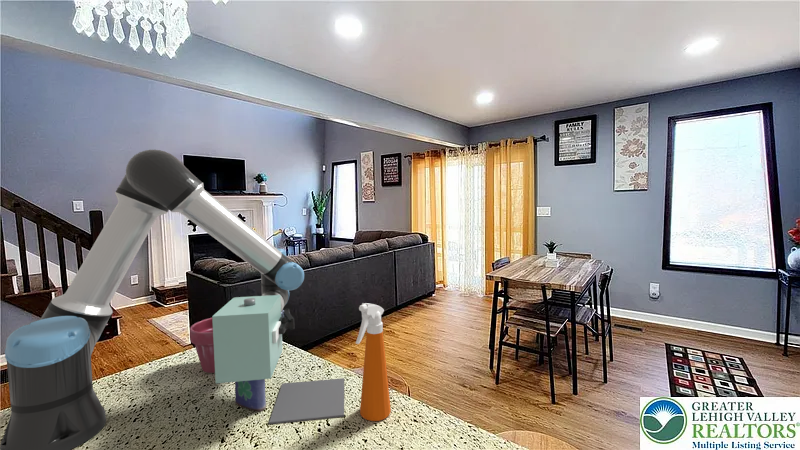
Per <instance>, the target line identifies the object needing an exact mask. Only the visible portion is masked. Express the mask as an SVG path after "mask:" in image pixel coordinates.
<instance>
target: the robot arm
mask: <svg viewBox="0 0 800 450" xmlns="http://www.w3.org/2000/svg"><path fill="white" fill-rule="evenodd" d="M204 187H205V186H204V182H202V181H201V180H200V179H199V178H198V177H196V175H195V174H193V173H192V172H191V171H190V170H189V168H187V167H186V166H185V165H184V164H183V162H181V161H180V159H178V158H177V157H176V156H174V155H173V154H171V153H170V152H168V151H165V150H160V149H146V150H142V151H139V152H138V153H136V154H134V155H133V156H132V157H131V158H130V159H129V161H128V162H127V165H126V168H125V174H124V177H123V178H122V180H121V182H120V184H119V185H118V187H117V188H116V191H115V192H114V194H115V196H116V199H117V204H116V206H115V208H114V209H113V210H112V212H111V214H110V216H109V217H108V219H107V221H106V223H105V225H104V226H103V227H102V229H101V231H100V233H99V235H98V236H97V238H96V240H95V242H94V243H93V244H92V247H91V249H90V250H89V252H88V253H87V255H86V256H85V259H84V261H83V262H82V264H81V265H80V267H79V269H78V271H77V272H76V275H75V276H74V278H73V280H72V281H71V283H70V285H69V286H68V288H67V290H66V291H65V292H64V294H62V295H58V296H56V297H53V298H52V299H51V300H50V302H49V304H48V305H47V308H46V309H45V310H44V313H43V314H42V315H41V317H40V319H38V320H36V321H35V320H34V321H32V322H30V323H29V324H25V325H22V326H20V327H18V328H17V329H15V330H14V331H13V332H11V334H9V335H8V337H7V338H6V342H5V343H6V344H5V349H4V356H5V360H6V367H7V376H8V377H7V378H8V388H9V389H8V390H9V400H10V402H9V403H10V411H11V413H10V416H9V418H8V422H7V425H6V428H5V430H4V433H3V437H2V439H1V442H0V450H73V449H74V448H76V447H78V446H80V445H83V444H84V443H86V442H87V441H89V440H91V439H92V438H93V437H94V436H96V435H97V434H98V433H100V431H101V430H102V429H103V428H104V426H105V425H106V422H107V417H106V416H107V415H106V409H105V407H104V405H102V403H101V400H100V399H99V397H98V396H97V393H96V392H95V389H94V388H93V387H94V386H93V385H94V384H93V369H92V354H93V352H94V349H95V347H96V344H97V343H98V342H99V339H100V337H101V335H102V333H103V331H104V329H105V327H106V325H107V324H108V321H109V319H110V318H111V317H112V314H113V309H112V307H111V304H110V303H111V301H112V299H113V298H114V296H115V295H116V292H117V291H118V289H119V287H120V285H121V283H122V282H123V280H124V278H125V276H126V274H127V272H128V271H129V268H130V267H131V265H132V263H133V262H134V259H135V258H136V256H137V255H138V252H139V251H140V249H141V247H142V246H143V243H144V242H145V240H146V238H147V236H148V235H149V233H150V231H151V229H152V228H153V225H154V224H155V221H156V220H157V218H158V217H159V216H162V215H165V214H168V212H169V211H170V212H171V213H180V214H181V215H182V216H184V217H186V219H188V220H189V221H191V222H192V223H193V224H195V225H196V226H197V227H199V228H200V229H201V230H203V231H204V232H205V233H207V234H208V235H209V236H211V237H212V238H214V239H215V240H217V242H219V243H220V244H222V245H223V246H224V247H226V248H227V249H228V250H230V251H231V252H232V253H233V254H235V255H236V256H237V257H239V258H241V259H242V260H243V261H244V262H245V263H247V264H248V265H250V266H251V267H253V269H255V270H256V271H258V272H259V273H260V281H261V282H260V283H261V285H260V286H261V296H271V295H281V317H280V319H279V321H278V322H277V324H276V326H275V327H274V329H273V331H272V337H273V343H276V342H277V340H278V338H279V336H280V334H282V335H284V334H285V332H286V331H287V330H288V329H289V330H295V318H294V316H293V315H292V313H291V312H290V308H285V309H284V307H285V306H286V305H287V304H288V301H289V299H290V291H294V290H297V289H298V288H300V287H301V286H302V284H303V282H304V280H305V271H304V269H303V268H302V267H301V266H300V265H299V264H298V263H297V262H293V260H291V259H290V258H289V257H287V253H286V252H287V251H286V249H284V248H276V247H275V246H274V245H273V244H272V243H270V242H269V241H268V240H267V239H266V238H264V237H263V236H262V235H261V234H259V233H258V232H257V231H256V230H255V229H253V228H252V227H251V226H249V225H248V224H247V223H246V222H245V221H243V220H242V219H241V218H240V217H239V216H237V215H236V214H235V213H234V212H232V211H231V210H230V209H229V208H228V207H226V206H225V205H224V204H223V203H222V202H221V201H219V200H218V199H216V197H214V196H213V195H212V194H211V193H209V192H208V191H207V190H205V188H204Z"/></svg>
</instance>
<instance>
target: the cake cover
mask: <svg viewBox="0 0 800 450" xmlns="http://www.w3.org/2000/svg"><path fill="white" fill-rule="evenodd" d="M281 312H282V311H281V295H271V296H262V295H253V296H240V297H239V296H236V297H233V298H231V300H229V301H228V302H227V303H226V304H224V306H222V307H221V308H220V309H219V310H218V311H217V312H215V313H214V314H213V315H212V317H211V318H212V321H213V341H214V361H215V373H214V375H215V377H214V378H215V384H226V383H235V382H238V381H250V380H261V379H265V380H270V379H272V377H273V374H274V371H275V369H276V367H277V365H278V362H279V360H280V358H281V354H282V352H283V334H280V336H279V338H278V340H277V342H276V343H273V337H272V331H273V329H274V327H275V326H276V324H277V322H278V321H279V319H280V317H281Z"/></svg>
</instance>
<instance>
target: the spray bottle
mask: <svg viewBox="0 0 800 450" xmlns="http://www.w3.org/2000/svg"><path fill="white" fill-rule="evenodd" d="M358 310H359V311H360V312H361V324H360V328H359V331H358V335H357V338H356V341H355V344H356V345H359V344H360V343H361V342H362V339H363V338H364V336H365V348H364V349H365V350H364V361H363V372H362V373H363V374H362V382H361V383H362V384H361V397H360V407H359V414H360V416H361V417H362V418H363V419H365V420H366V421H369V422H370V421H371V422H380V421H383V420H385V419H386V418H388V417H389V416H390V414H391V412H392V409H391V399H390V398H391V397H390V388H389V380H388V378H389V377H388V371H387V370H388V369H387V368H388V367H387V359H386V349H385V342H384V341H385V340H384V330H383V327H384V326H383V325H384V323H383V321H382V315H383V314H384V312H385V309H384V308H383V307H382V306H380V305H377V304H376V303H375V304H374V303H367V302H365V303H364V302H362V303H361V305H359V307H358ZM365 333H366V335H365Z"/></svg>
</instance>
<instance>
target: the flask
mask: <svg viewBox="0 0 800 450" xmlns="http://www.w3.org/2000/svg"><path fill="white" fill-rule="evenodd" d="M234 395H235V396H234V397H235V398H234V401H235V402H234V403H235V404H236V406H238V407H240V408H243V409H245V410H249V411H251V412H258V413H259V412H263V411H264V410H265V409H266V407H267V401H266V400H267V399H266V397H267V396H266V379H261V380H250V381H238V382H234Z"/></svg>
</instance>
